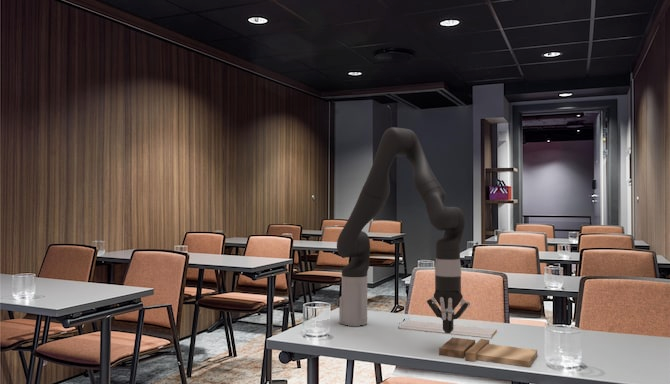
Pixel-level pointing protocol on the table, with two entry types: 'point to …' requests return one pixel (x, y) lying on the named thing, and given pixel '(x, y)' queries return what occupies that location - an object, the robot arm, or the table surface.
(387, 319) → the table surface
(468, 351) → the floor edge
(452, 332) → the baseboard molding
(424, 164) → the robot arm
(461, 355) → the plank
